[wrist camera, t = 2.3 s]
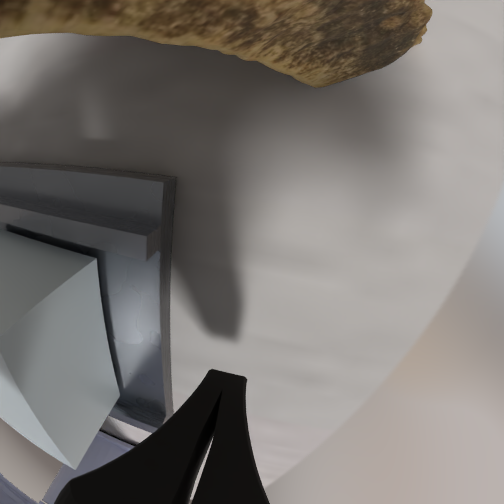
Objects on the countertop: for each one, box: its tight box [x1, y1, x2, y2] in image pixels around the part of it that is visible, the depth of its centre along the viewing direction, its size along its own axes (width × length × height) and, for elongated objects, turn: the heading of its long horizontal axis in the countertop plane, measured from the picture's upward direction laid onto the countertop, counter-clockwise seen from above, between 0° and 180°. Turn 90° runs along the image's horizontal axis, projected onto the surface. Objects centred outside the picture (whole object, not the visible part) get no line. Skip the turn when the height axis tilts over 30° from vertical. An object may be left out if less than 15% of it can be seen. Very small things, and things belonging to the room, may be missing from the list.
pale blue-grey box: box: [0, 229, 120, 470], centre depth 10 cm, size 10×9×5 cm
